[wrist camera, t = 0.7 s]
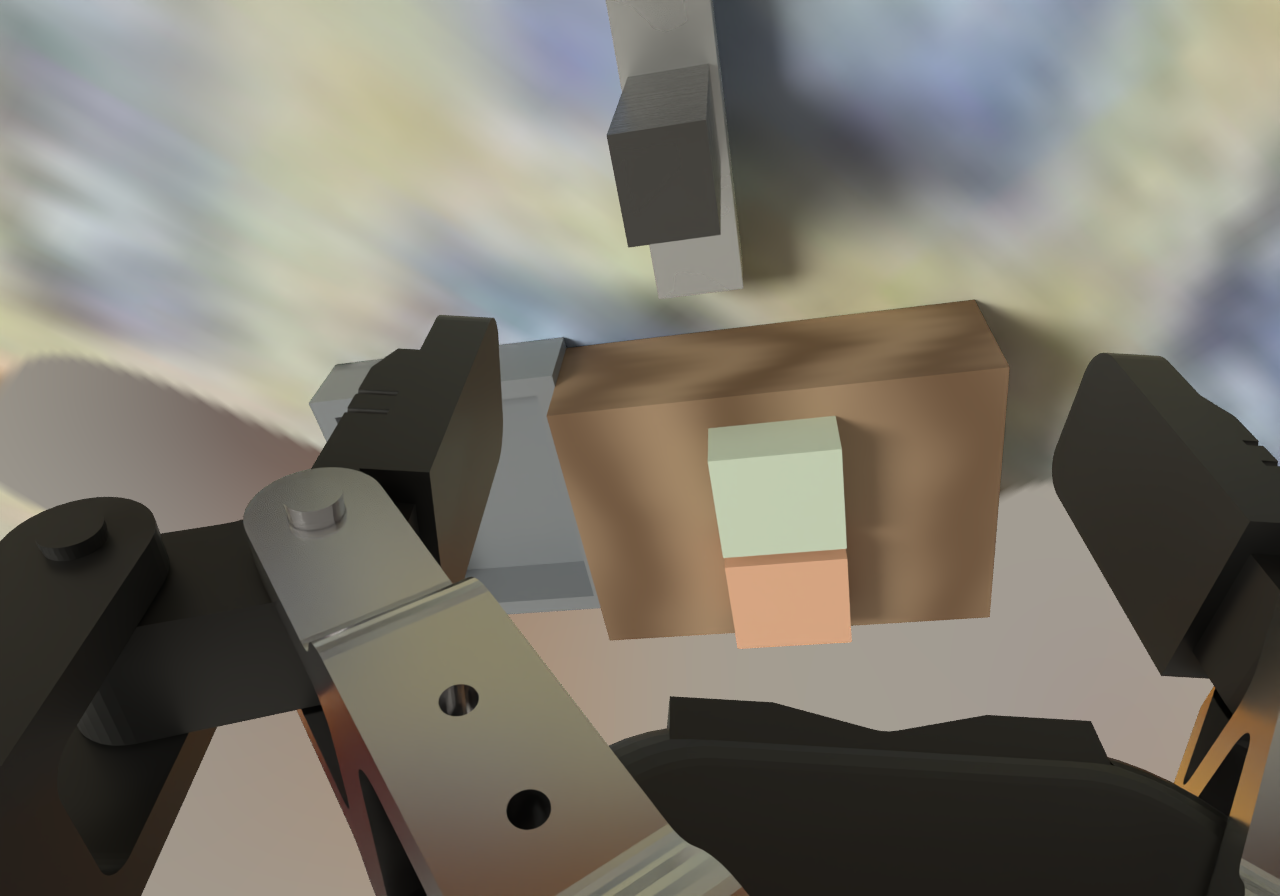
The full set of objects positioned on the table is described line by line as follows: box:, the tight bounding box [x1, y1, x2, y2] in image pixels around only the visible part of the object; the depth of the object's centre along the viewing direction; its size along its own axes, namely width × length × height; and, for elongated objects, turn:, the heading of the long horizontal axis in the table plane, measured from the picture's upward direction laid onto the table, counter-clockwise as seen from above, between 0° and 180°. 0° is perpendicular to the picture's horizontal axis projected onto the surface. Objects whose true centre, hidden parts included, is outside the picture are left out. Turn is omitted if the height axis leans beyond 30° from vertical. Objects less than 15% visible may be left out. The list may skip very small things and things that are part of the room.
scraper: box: [606, 0, 743, 299], centre depth 26 cm, size 3×12×9 cm, turn 10°
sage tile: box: [708, 416, 847, 558], centre depth 31 cm, size 4×4×2 cm
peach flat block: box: [725, 549, 852, 649], centre depth 34 cm, size 4×4×2 cm
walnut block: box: [547, 300, 1010, 640], centre depth 36 cm, size 16×12×5 cm
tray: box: [309, 337, 601, 614], centre depth 38 cm, size 10×12×3 cm
